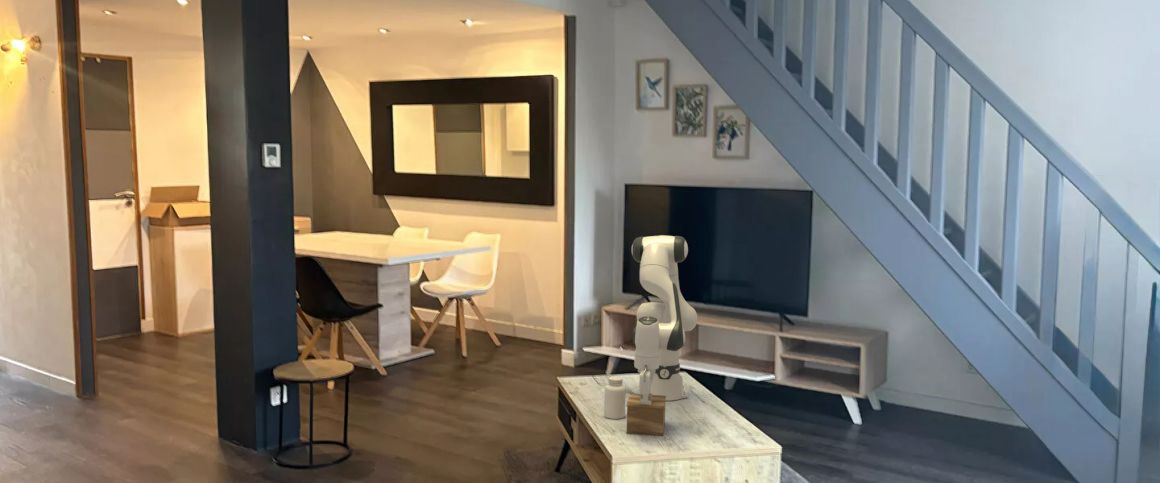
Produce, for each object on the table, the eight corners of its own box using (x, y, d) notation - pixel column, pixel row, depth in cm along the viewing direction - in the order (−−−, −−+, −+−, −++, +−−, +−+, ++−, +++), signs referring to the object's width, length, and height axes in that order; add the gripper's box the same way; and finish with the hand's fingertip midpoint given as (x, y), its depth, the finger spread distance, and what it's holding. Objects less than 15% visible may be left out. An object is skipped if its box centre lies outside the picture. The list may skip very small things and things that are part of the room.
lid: (630, 395, 341) (630, 384, 341) (666, 397, 339) (666, 386, 339) (626, 406, 327) (626, 394, 326) (664, 408, 325) (664, 396, 325)
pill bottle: (623, 420, 344) (624, 381, 342) (602, 418, 346) (603, 380, 344) (626, 414, 352) (627, 376, 350) (605, 412, 353) (606, 374, 352)
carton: (630, 422, 342) (630, 396, 341) (664, 424, 340) (665, 397, 339) (626, 433, 328) (627, 406, 327) (662, 435, 326) (663, 408, 325)
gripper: (653, 370, 316) (652, 408, 317) (657, 356, 336) (656, 393, 337) (635, 369, 317) (634, 407, 318) (640, 355, 337) (639, 392, 338)
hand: (645, 400), depth 328 cm, fingers closed on lid, 2 cm apart
